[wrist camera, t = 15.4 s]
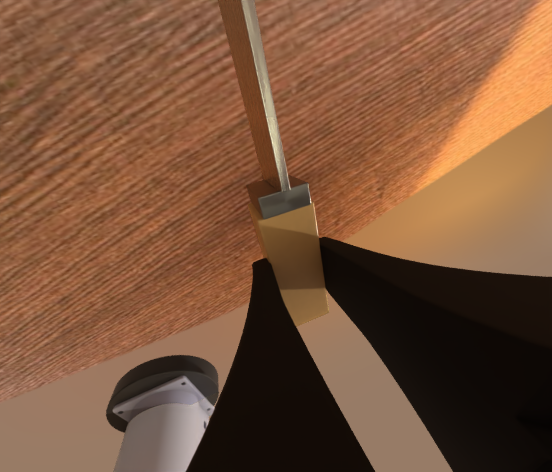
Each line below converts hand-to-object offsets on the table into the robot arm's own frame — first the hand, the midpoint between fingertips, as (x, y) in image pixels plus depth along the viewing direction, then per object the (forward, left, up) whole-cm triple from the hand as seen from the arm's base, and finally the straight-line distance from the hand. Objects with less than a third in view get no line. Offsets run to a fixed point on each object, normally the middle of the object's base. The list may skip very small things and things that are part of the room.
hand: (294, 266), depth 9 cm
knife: (+4, 0, -1) cm, 4 cm away
